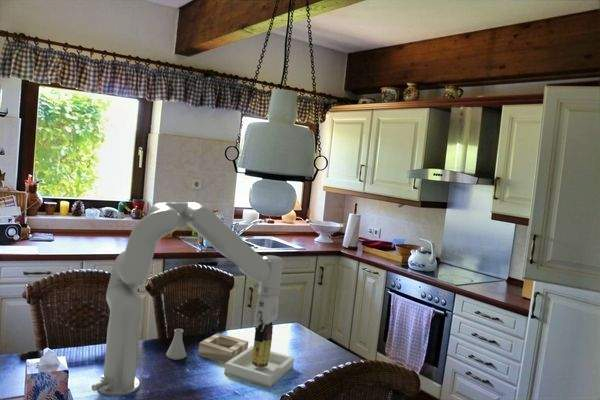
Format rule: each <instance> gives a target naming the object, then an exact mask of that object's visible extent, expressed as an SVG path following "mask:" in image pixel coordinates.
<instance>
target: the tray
mask: <svg viewBox="0 0 600 400" xmlns="http://www.w3.org/2000/svg"><path fill="white" fill-rule="evenodd" d="M253 347H254V345H251V346H250V347H249V346H248V349H246V350H245V351H243V352H242V353H240V354H239V355H237V356H236V357H234V358H232V359H231V360H229V361H228V362H226V363H225V365H224V375H227V376H229V377H232V378H235V379H239V380H242V381H245V382H248V383H252V384H255V385H258V386H261V387H264V388H267V389H271V388H272V387H274V386H275V385H276V384H277V383H278V382H279V381H281V379H282V378H284V377H285V376H286V375H287V374H289V373H290V371H291V370H293V369H294V363H295V357H292V356H289V355H286V354H282V353H279V352H275V351H272V350H270V356H269V362H268V365H267V366H266V367H256V366H254V365H253V364H252V355H253Z"/></svg>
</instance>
